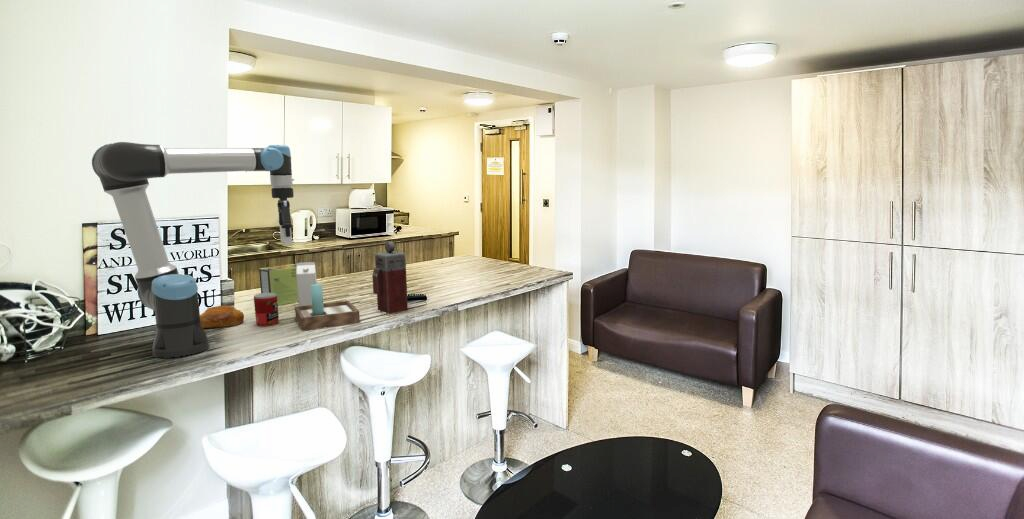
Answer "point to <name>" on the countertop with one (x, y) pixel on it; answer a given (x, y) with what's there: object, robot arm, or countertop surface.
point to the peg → (317, 299)
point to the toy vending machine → (390, 280)
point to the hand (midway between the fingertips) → (286, 243)
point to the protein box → (280, 282)
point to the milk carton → (305, 282)
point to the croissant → (221, 317)
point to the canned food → (266, 309)
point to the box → (327, 315)
